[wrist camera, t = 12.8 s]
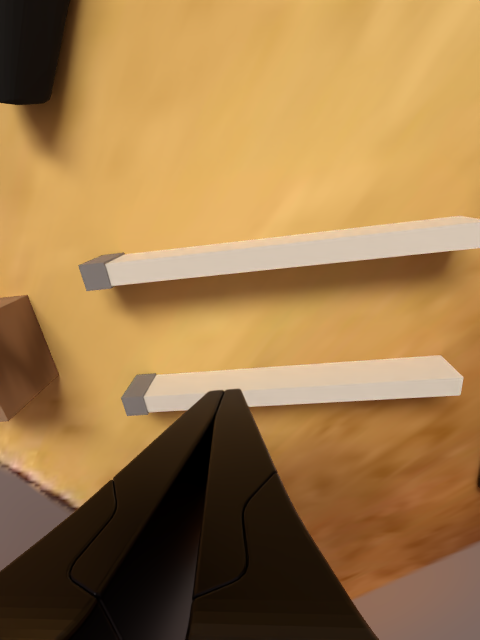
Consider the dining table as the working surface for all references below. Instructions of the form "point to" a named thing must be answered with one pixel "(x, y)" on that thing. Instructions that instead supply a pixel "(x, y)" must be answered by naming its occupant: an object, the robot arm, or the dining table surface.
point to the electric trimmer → (29, 48)
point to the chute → (286, 252)
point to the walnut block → (21, 356)
